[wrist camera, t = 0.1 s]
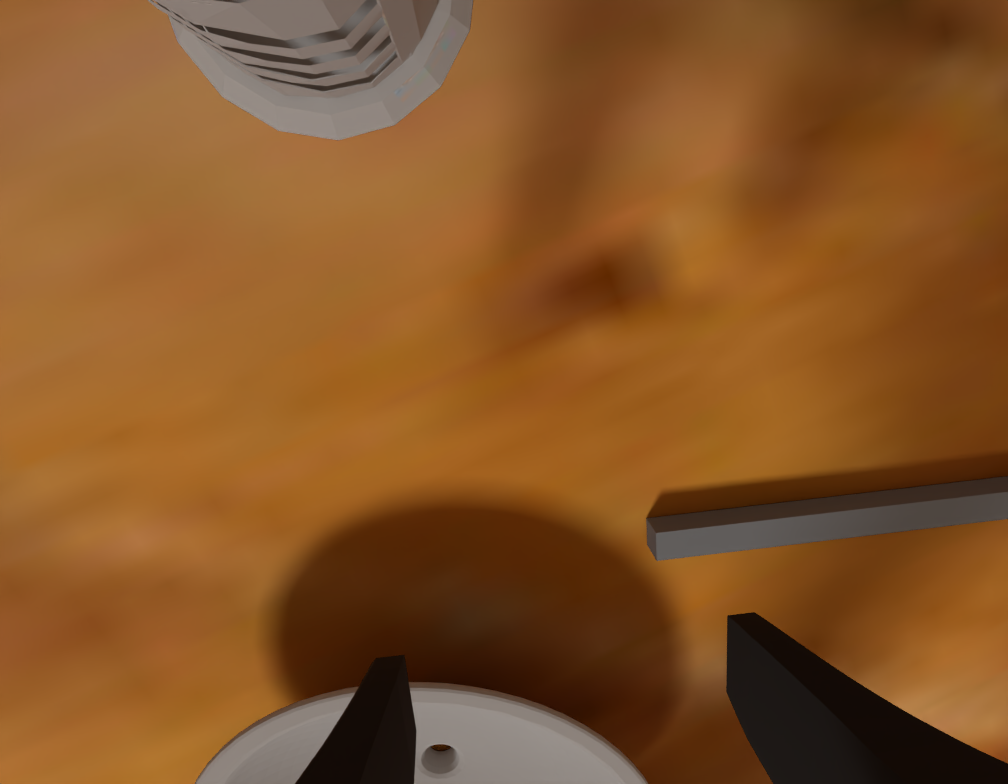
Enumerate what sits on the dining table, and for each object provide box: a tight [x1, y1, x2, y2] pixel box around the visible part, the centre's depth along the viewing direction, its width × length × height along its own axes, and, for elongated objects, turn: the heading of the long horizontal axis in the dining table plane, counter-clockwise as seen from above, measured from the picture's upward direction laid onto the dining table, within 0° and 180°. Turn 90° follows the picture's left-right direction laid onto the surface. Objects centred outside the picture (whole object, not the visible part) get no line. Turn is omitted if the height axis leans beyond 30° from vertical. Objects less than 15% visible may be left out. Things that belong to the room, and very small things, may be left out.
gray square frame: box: [646, 476, 1008, 561], centre depth 25 cm, size 19×19×1 cm
